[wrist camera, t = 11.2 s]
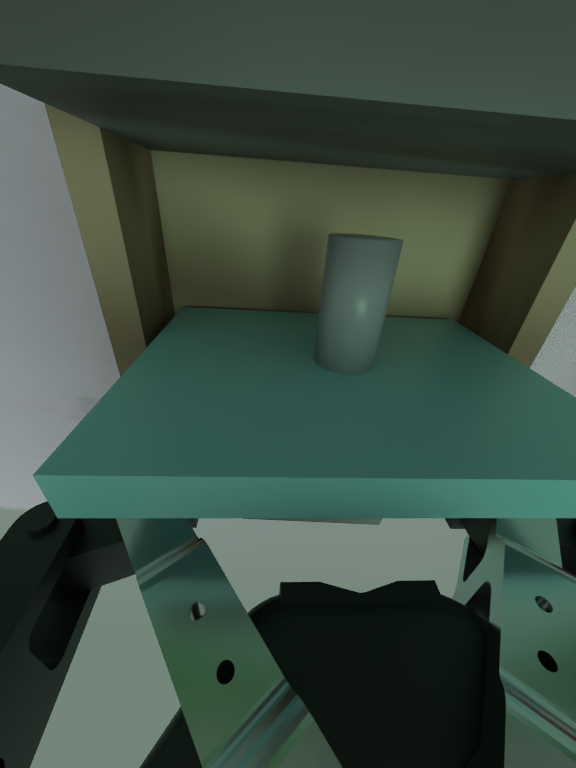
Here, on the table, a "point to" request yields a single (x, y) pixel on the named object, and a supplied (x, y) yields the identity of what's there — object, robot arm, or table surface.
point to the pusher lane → (312, 152)
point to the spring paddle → (321, 416)
